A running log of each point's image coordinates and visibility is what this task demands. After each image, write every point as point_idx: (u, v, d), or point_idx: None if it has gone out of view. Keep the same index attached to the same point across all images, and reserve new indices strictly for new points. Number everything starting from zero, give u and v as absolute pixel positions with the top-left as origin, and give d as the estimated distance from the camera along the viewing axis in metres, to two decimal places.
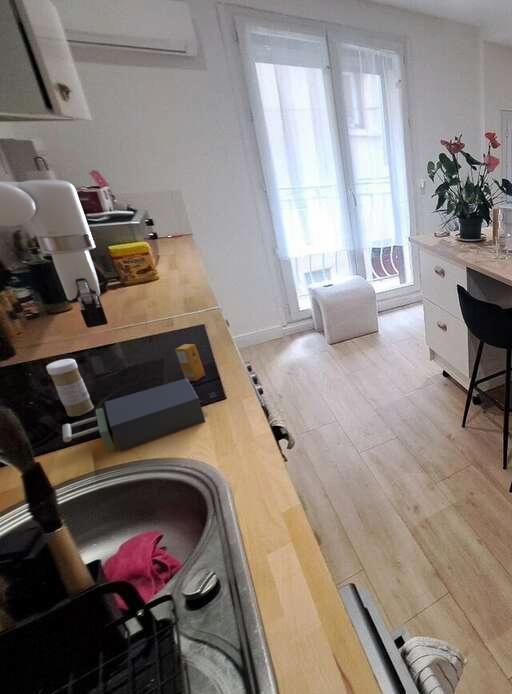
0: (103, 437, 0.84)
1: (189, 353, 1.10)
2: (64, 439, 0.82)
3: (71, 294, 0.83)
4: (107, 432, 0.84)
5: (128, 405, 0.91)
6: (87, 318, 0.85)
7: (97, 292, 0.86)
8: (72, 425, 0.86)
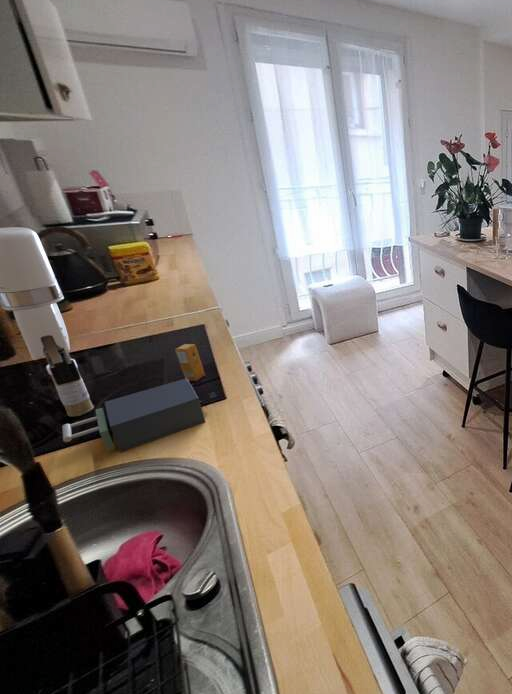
0: (103, 437, 0.84)
1: (189, 353, 1.10)
2: (64, 439, 0.82)
3: (36, 353, 0.74)
4: (107, 432, 0.84)
5: (128, 405, 0.91)
6: (57, 375, 0.80)
7: (66, 349, 0.77)
8: (72, 425, 0.86)
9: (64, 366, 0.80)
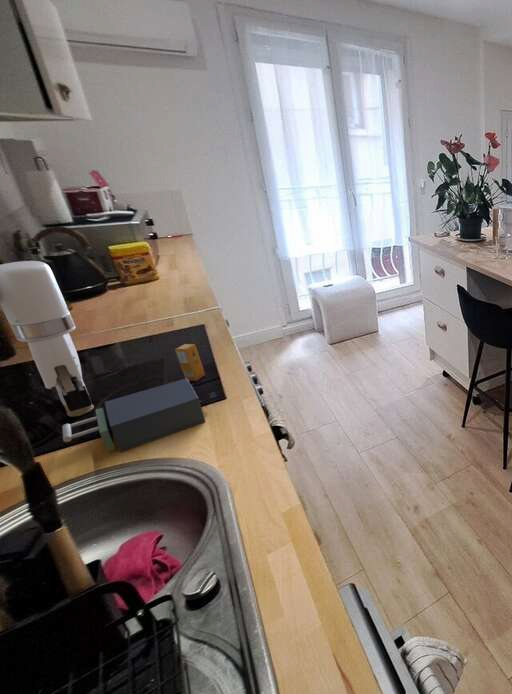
0: (103, 437, 0.84)
1: (189, 353, 1.10)
2: (64, 439, 0.82)
3: (50, 383, 0.77)
4: (107, 432, 0.84)
5: (128, 405, 0.91)
6: (70, 402, 0.82)
7: (78, 377, 0.80)
8: (72, 425, 0.86)
9: (76, 393, 0.82)
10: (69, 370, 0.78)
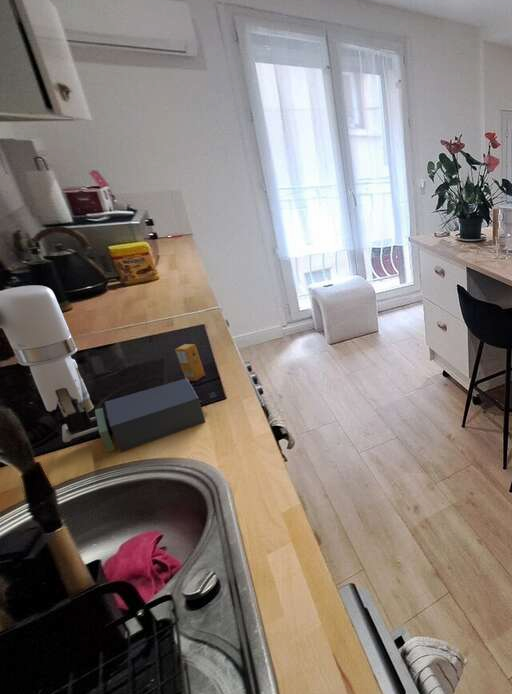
0: (103, 437, 0.84)
1: (189, 353, 1.10)
2: (63, 439, 0.82)
3: (51, 406, 0.78)
4: (107, 432, 0.84)
5: (128, 405, 0.91)
6: (70, 423, 0.83)
7: (79, 400, 0.80)
8: None
9: (77, 414, 0.83)
10: (70, 393, 0.79)
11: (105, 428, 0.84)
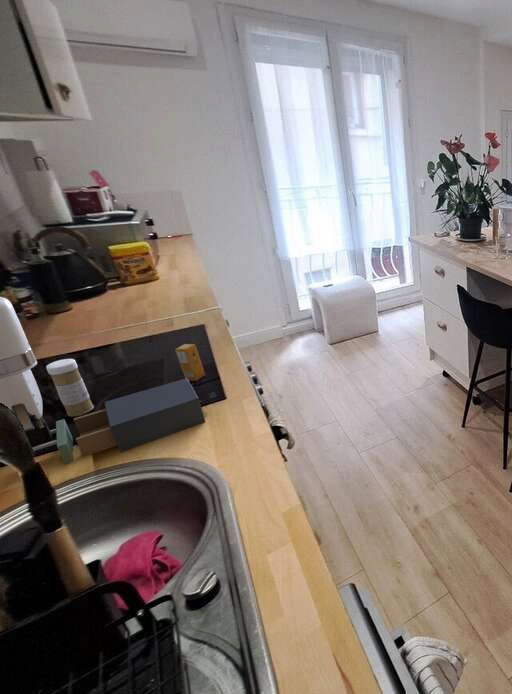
0: (61, 451, 0.80)
1: (189, 353, 1.10)
2: None
3: None
4: (65, 446, 0.80)
5: (128, 405, 0.91)
6: (29, 440, 0.80)
7: (38, 415, 0.77)
8: None
9: (36, 431, 0.79)
10: (28, 408, 0.75)
11: (64, 441, 0.80)
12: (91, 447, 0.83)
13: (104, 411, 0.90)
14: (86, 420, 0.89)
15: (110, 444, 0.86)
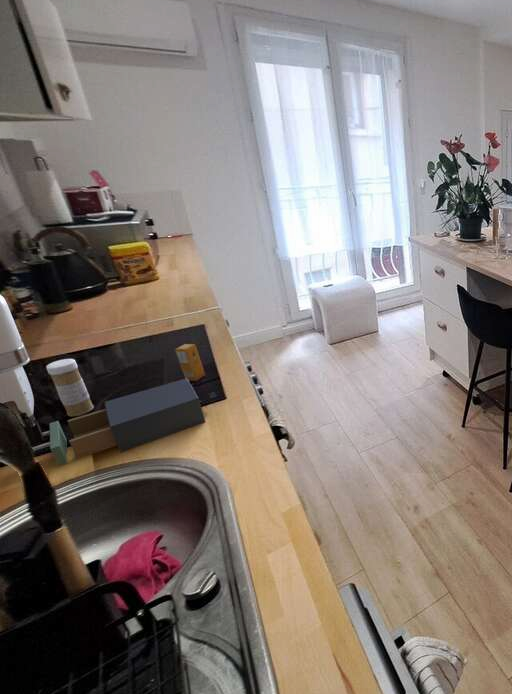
0: (54, 453, 0.79)
1: (189, 353, 1.10)
2: None
3: None
4: (59, 448, 0.79)
5: (128, 405, 0.91)
6: None
7: (28, 413, 0.76)
8: None
9: (27, 429, 0.78)
10: (18, 406, 0.75)
11: (57, 444, 0.80)
12: (85, 449, 0.83)
13: (98, 413, 0.90)
14: (80, 422, 0.88)
15: (104, 446, 0.85)
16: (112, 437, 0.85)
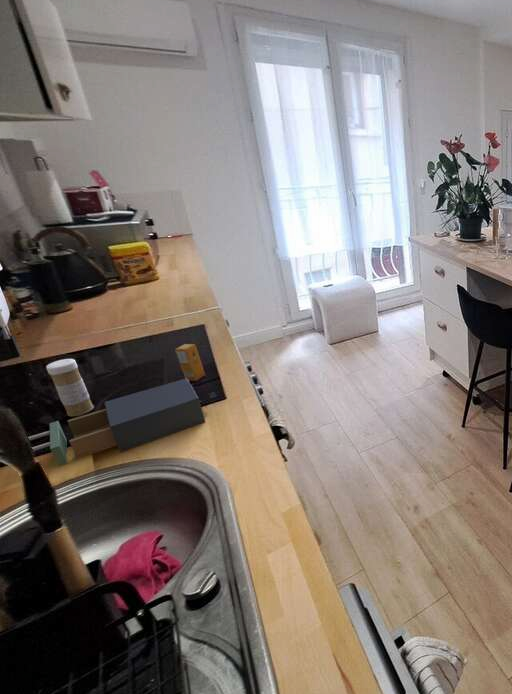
0: (54, 453, 0.79)
1: (189, 353, 1.10)
2: None
3: None
4: (59, 448, 0.79)
5: (128, 405, 0.91)
6: None
7: (1, 322, 0.73)
8: None
9: (1, 342, 0.75)
10: None
11: (57, 444, 0.80)
12: (85, 449, 0.83)
13: (98, 413, 0.90)
14: (80, 422, 0.88)
15: (104, 446, 0.85)
16: (112, 437, 0.85)
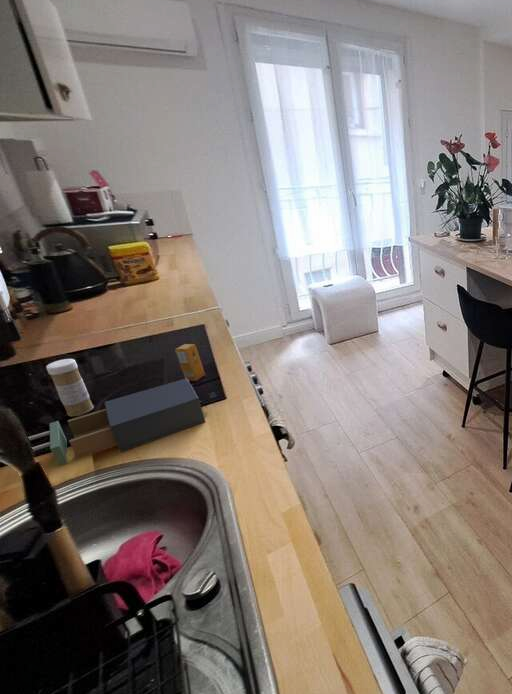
0: (54, 453, 0.79)
1: (189, 353, 1.10)
2: None
3: None
4: (59, 448, 0.79)
5: (128, 405, 0.91)
6: None
7: (2, 305, 0.73)
8: None
9: (2, 325, 0.76)
10: None
11: (57, 444, 0.80)
12: (85, 449, 0.83)
13: (98, 413, 0.90)
14: (80, 422, 0.88)
15: (104, 446, 0.85)
16: (112, 437, 0.85)
